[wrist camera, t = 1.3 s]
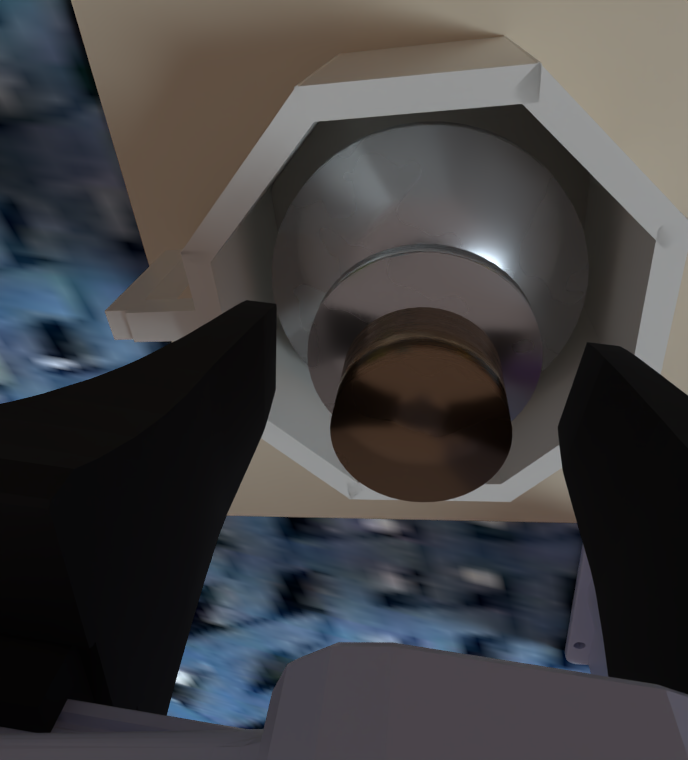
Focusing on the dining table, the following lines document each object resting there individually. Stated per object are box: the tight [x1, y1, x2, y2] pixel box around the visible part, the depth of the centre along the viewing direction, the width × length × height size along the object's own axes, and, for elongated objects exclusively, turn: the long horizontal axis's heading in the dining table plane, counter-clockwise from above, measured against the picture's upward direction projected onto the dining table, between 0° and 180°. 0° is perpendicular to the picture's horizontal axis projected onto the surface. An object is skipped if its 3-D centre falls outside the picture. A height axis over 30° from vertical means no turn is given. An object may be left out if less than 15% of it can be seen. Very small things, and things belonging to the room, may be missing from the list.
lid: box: [271, 121, 589, 502], centre depth 12 cm, size 8×8×6 cm
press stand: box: [71, 0, 688, 523], centre depth 16 cm, size 24×18×7 cm
